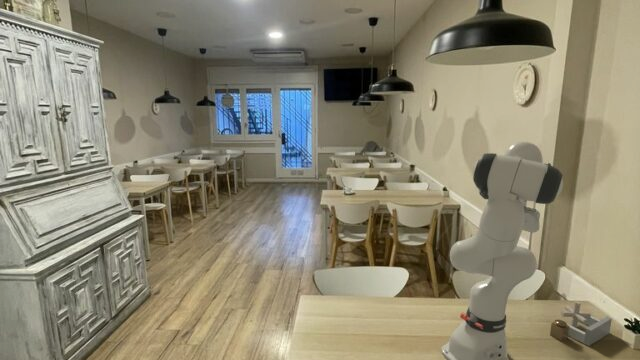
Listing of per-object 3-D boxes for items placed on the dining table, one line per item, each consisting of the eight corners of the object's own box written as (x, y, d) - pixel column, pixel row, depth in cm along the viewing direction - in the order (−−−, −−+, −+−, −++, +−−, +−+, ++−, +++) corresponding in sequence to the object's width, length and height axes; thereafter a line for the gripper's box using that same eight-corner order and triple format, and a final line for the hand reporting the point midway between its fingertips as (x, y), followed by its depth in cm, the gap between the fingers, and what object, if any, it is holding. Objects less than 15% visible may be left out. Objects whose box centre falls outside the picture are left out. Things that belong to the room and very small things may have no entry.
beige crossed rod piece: (577, 319, 137) (581, 296, 135) (597, 334, 127) (601, 310, 125) (552, 318, 137) (555, 295, 135) (569, 334, 127) (573, 309, 126)
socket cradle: (588, 346, 121) (591, 330, 120) (554, 328, 131) (555, 314, 130) (609, 333, 128) (611, 318, 127) (575, 317, 138) (577, 303, 137)
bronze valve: (561, 341, 124) (563, 327, 123) (549, 335, 127) (551, 321, 126) (567, 338, 126) (569, 323, 125) (556, 332, 129) (557, 318, 128)
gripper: (545, 208, 131) (541, 243, 134) (495, 197, 149) (493, 228, 152) (535, 211, 128) (531, 246, 131) (486, 199, 146) (483, 230, 149)
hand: (510, 236), depth 141 cm, fingers closed
